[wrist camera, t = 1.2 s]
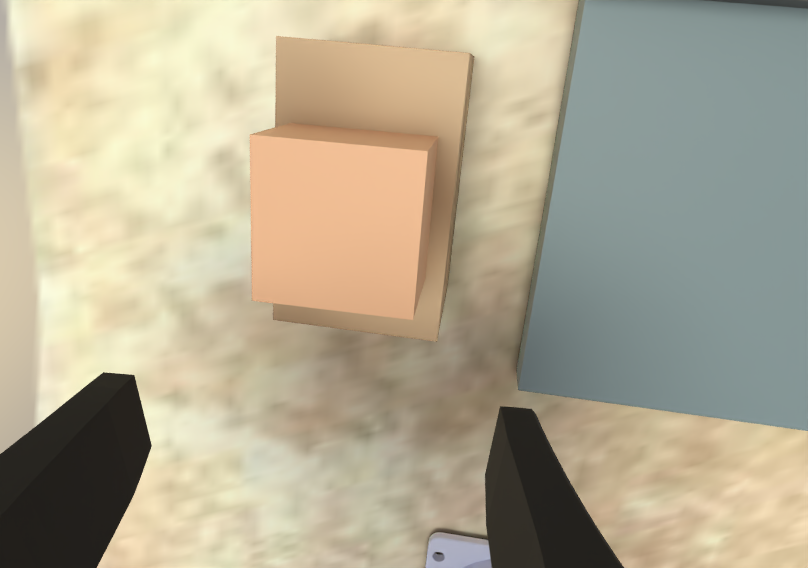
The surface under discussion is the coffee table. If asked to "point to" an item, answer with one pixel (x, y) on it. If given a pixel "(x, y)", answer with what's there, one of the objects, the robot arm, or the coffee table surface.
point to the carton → (341, 218)
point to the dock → (678, 214)
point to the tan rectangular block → (389, 112)
